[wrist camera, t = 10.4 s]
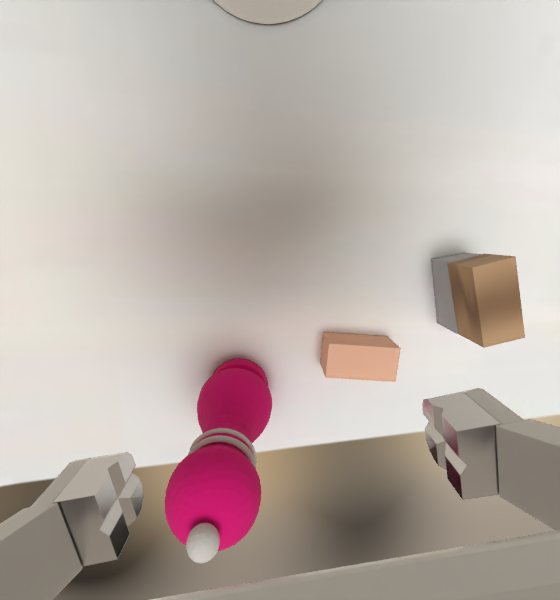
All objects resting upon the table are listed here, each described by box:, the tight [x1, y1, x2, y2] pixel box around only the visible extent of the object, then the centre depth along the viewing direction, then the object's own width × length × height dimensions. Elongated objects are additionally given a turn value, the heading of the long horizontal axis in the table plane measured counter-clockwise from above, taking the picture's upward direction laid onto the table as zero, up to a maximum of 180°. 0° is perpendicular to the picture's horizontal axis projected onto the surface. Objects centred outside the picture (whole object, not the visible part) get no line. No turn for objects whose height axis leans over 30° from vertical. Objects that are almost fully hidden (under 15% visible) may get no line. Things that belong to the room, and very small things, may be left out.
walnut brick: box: [447, 254, 525, 347], centre depth 29 cm, size 7×4×4 cm, turn 14°
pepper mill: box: [165, 359, 272, 563], centre depth 27 cm, size 7×7×20 cm
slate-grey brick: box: [431, 253, 482, 333], centre depth 33 cm, size 7×4×4 cm, turn 10°
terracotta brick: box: [320, 332, 401, 382], centre depth 34 cm, size 7×4×4 cm, turn 86°
